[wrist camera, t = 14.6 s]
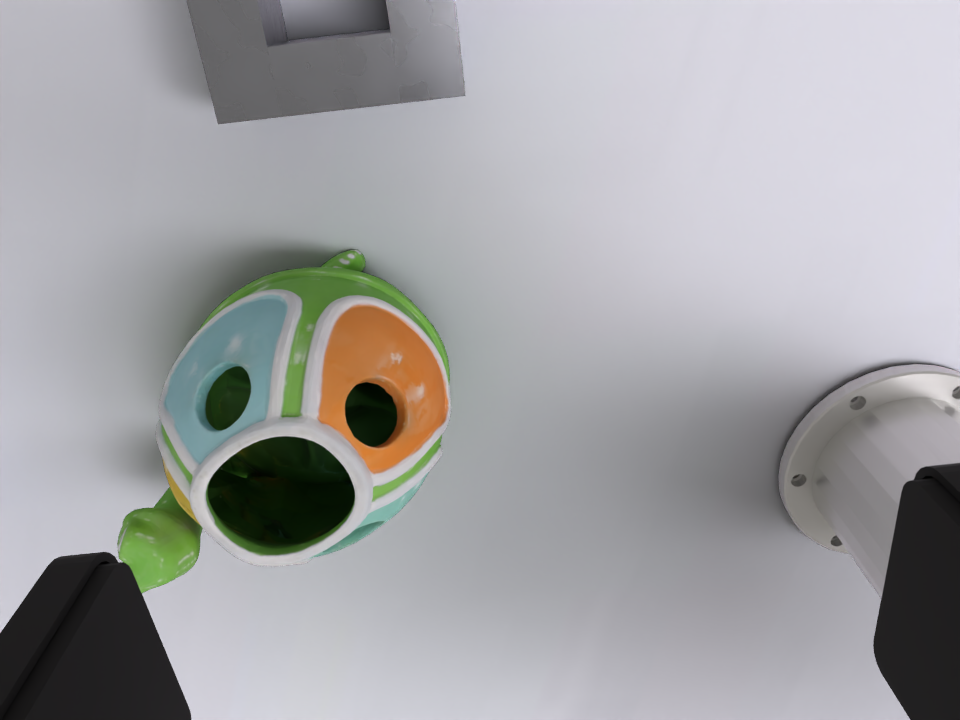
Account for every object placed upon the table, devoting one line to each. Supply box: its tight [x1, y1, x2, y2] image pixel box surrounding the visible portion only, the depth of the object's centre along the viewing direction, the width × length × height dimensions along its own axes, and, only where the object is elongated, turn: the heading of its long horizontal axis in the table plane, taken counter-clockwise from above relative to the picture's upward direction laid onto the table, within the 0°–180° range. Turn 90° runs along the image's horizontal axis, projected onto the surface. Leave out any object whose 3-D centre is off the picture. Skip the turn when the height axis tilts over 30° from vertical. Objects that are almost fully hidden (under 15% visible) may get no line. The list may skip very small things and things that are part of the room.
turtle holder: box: [117, 250, 451, 593], centre depth 34 cm, size 12×18×12 cm
